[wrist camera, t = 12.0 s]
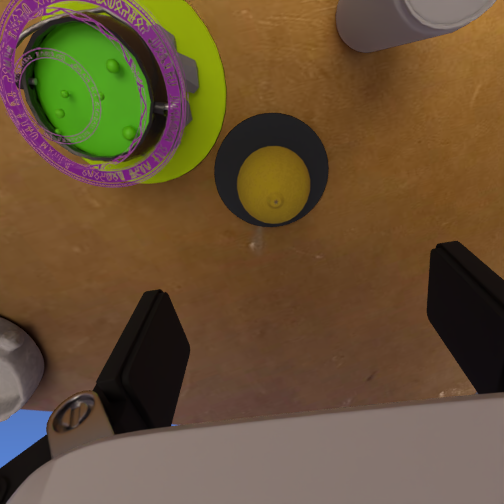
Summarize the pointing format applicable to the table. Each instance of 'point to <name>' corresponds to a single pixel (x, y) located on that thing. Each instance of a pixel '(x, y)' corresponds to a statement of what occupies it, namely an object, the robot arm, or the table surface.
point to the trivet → (262, 135)
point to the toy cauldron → (116, 85)
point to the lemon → (273, 184)
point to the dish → (17, 368)
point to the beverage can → (402, 20)
